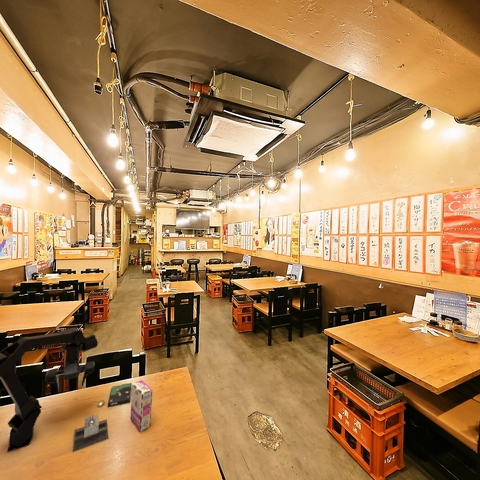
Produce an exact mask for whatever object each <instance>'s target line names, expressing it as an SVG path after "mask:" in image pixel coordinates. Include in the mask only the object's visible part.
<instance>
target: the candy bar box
mask: <svg viewBox="0 0 480 480" xmlns="http://www.w3.org/2000/svg"><path fill="white" fill-rule="evenodd" d="M152 400H153V389H152V388H151V387H150V386H149V385H147V384H146V382H144V381H143V379H141V380H139V381H136V382H134V383H132V385H131V399H130V421H131V422H132V423H133V425H134V426H135V428H136V429H137V430H138V431H139V432H140V433H142V432H143V431H145V430H147V429H149V428H150V427H151V419H152V418H151V417H152V406H153V405H152Z"/></svg>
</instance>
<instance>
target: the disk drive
mask: <svg viewBox="0 0 480 480" xmlns="http://www.w3.org/2000/svg"><path fill="white" fill-rule="evenodd" d="M132 384H133V383H132V382H129V383H123V384H118V385H112V387H111V388H110V392H109V395H108V396H109V397H108V401H107V408H112V407H116V406H122V405H127V404H131V397H132Z"/></svg>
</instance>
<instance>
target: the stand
mask: <svg viewBox="0 0 480 480" xmlns="http://www.w3.org/2000/svg"><path fill="white" fill-rule="evenodd" d="M108 429H109V428H108V419H103V420H99V430H98V433H96V434H93V435H91V436H88V437H85V438H84V426H82V427H79V428H75V429H74V432H73V433H74V434H73V435H74V436H73V445H72V452H73V453H74V452H77V451H80V450H83V449H84V448H88V447H90V446H93V445H95V444H98V443H100V442H103V441H106V440H108V439H109V430H108Z"/></svg>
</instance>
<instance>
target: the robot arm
mask: <svg viewBox="0 0 480 480" xmlns="http://www.w3.org/2000/svg"><path fill="white" fill-rule="evenodd" d="M61 343H62V345H61V347H59V348H60V350H62V351H64V352H65V353H64V366H63V369H62V370H59V369H58V368H54V369H48V370H47V371H46V373H45V377H44V383H49V384H53V385H54V388H55V391H56V392H57V393H59V391H60V383H59V378H60V377H59V376H63V381H68V380H72V379H76V378H77V377H78V375H80V374H82V373H83V374H82V379H81V387H83V386H84V384H85V381H86V380H87V377H88V376H89V374H92V373H93V372H95V367H96V363H95V361H94V360H92V361H87V362H85V364H84V365H83V364H80V355H81V352H82V353H84V352H89V351H90V350H92V349H95V348H97V347H98V343H99V342H98V339H97V338H96V334H91V335H88V336H84V333H83V330H81V329H77V328H74V327H71V328H67V329H64V330H61V331H59V332H56V333H48V334H41V335H35V336H33V335H32V336H24V337H20V338H19V339H18V340H17V341H15V342H14V343H12V344H10V345H9V346H6V347H5V348H3V349H2V350H1V351H0V380H1V382H2V384H3V386H4V387H5V390H6V391H7V392H8V394H9V397H10V398H11V399H12V402H13V403H14V415H13V416H12V417H11V418H10V420H9V421H7V425H8V427H9V428H11V429H10V432H9V437H8V439H9V443H8V447H7V449H6V451H7V453H9V452H12V451H14V450H17V449H21V448H24V447H26V446H29V445H30V444H31V440H33V438H34V433H35V425H36V422H37V420H38V418H39V417H40V416H41V415H40V414H41V413H42V409H41V408H43V406H42V405H41V404H40V402H39V399H37V398H36V397H34V396H33V395H30V396H29V395H28V394H27V391H26V390H25V388H24V385H23V384H22V382H21V381H20V378H19V376H18V375H17V371H16V370H17V364H16V363H17V362H19V361H20V360H21V359H22V357H23V356H25V353H26V352H27V351H28V350H30V349H31V348H33V349H34V348H38V347H42V346H48V345H54V344H55V345H56V344H61Z"/></svg>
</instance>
